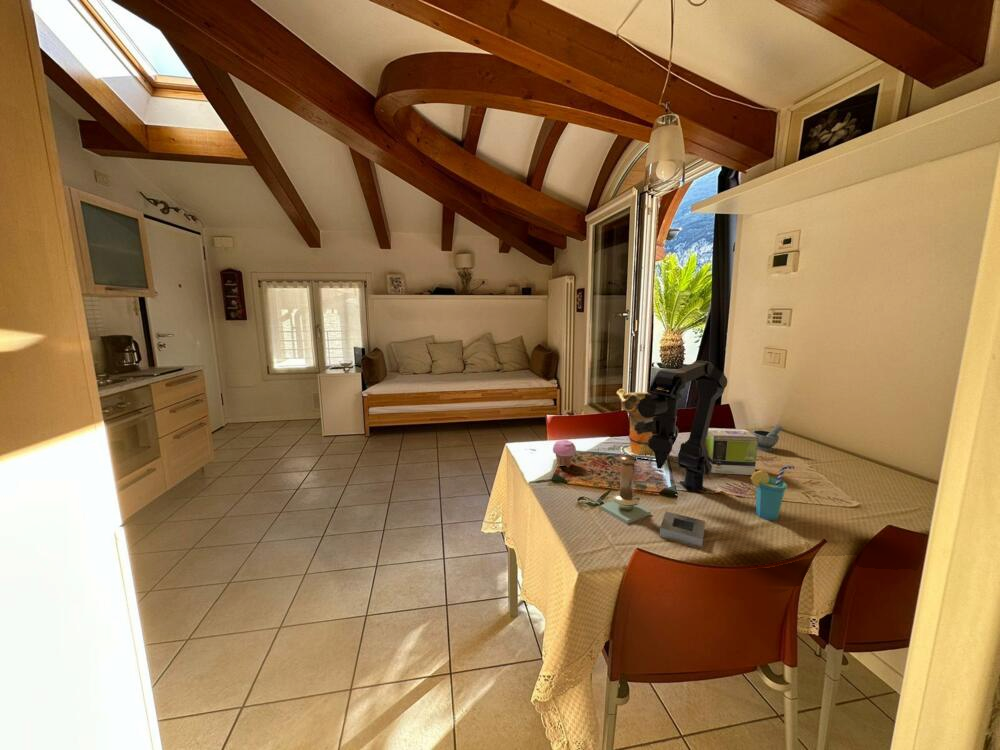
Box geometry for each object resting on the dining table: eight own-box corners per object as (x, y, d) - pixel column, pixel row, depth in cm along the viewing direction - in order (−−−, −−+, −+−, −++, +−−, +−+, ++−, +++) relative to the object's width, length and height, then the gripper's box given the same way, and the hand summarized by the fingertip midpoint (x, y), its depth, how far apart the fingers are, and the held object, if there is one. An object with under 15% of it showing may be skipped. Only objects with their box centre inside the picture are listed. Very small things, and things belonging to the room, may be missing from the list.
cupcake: (575, 471, 148) (576, 445, 146) (551, 469, 149) (552, 443, 148) (575, 461, 157) (576, 437, 155) (552, 460, 158) (553, 435, 156)
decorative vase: (602, 446, 172) (609, 382, 168) (645, 443, 181) (653, 382, 176) (634, 464, 153) (643, 392, 149) (681, 460, 162) (690, 392, 157)
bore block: (664, 521, 114) (665, 511, 113) (704, 531, 109) (705, 520, 109) (659, 538, 105) (660, 527, 105) (701, 550, 101) (702, 539, 100)
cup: (774, 506, 123) (781, 459, 121) (800, 518, 116) (807, 469, 113) (739, 512, 119) (744, 464, 117) (762, 525, 112) (769, 475, 110)
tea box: (742, 465, 155) (746, 428, 152) (754, 476, 145) (759, 437, 142) (700, 463, 157) (704, 426, 154) (710, 473, 147) (714, 434, 144)
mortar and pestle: (745, 447, 175) (748, 420, 173) (758, 443, 179) (761, 417, 177) (772, 455, 165) (776, 427, 163) (785, 452, 170) (789, 424, 168)
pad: (623, 501, 125) (623, 497, 125) (650, 515, 117) (650, 511, 116) (600, 510, 120) (600, 505, 120) (626, 525, 111) (627, 520, 111)
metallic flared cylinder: (615, 499, 123) (617, 451, 120) (641, 505, 119) (644, 455, 117) (608, 510, 117) (611, 459, 114) (636, 517, 113) (639, 464, 110)
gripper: (643, 403, 131) (639, 449, 134) (631, 415, 115) (627, 467, 118) (680, 408, 126) (675, 456, 128) (673, 422, 110) (668, 476, 112)
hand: (661, 463), depth 122 cm, fingers open, 9 cm apart
